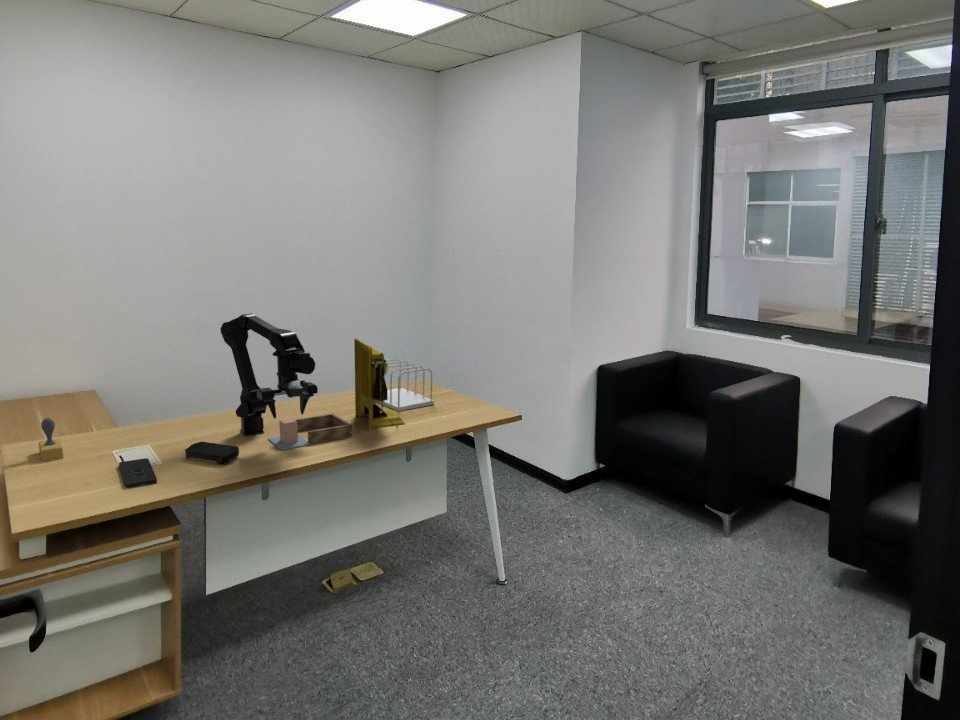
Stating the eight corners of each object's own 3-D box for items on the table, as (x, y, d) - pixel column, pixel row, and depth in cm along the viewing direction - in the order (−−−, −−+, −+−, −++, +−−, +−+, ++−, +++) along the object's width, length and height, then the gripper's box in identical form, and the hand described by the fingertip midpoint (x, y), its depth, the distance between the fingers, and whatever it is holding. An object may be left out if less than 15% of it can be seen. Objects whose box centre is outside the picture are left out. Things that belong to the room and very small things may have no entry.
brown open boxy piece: (309, 443, 230) (308, 432, 229) (291, 431, 243) (291, 420, 242) (352, 436, 239) (351, 424, 238) (333, 424, 252) (332, 413, 251)
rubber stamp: (39, 452, 216) (35, 415, 214) (61, 449, 220) (57, 413, 217) (41, 462, 208) (37, 423, 206) (63, 458, 212) (59, 421, 209)
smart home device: (124, 484, 190) (117, 461, 206) (125, 490, 190) (118, 467, 207) (157, 478, 194) (148, 457, 211) (158, 484, 194) (148, 462, 211)
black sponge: (243, 457, 216) (242, 446, 216) (225, 466, 208) (224, 455, 208) (200, 451, 221) (199, 440, 221) (181, 460, 214) (180, 448, 213)
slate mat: (281, 450, 223) (281, 449, 223) (267, 439, 233) (267, 438, 233) (310, 444, 229) (310, 443, 229) (296, 434, 239) (296, 433, 239)
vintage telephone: (413, 431, 245) (413, 348, 239) (375, 436, 239) (374, 351, 233) (386, 408, 273) (386, 333, 267) (351, 412, 267) (350, 335, 261)
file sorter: (365, 398, 289) (365, 361, 285) (400, 392, 299) (400, 356, 296) (398, 411, 270) (398, 372, 266) (434, 405, 280) (434, 367, 277)
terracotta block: (284, 444, 228) (284, 423, 226) (280, 440, 231) (279, 420, 230) (297, 441, 230) (297, 421, 229) (293, 438, 234) (292, 418, 233)
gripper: (266, 378, 214) (268, 426, 217) (323, 371, 225) (324, 418, 228) (255, 371, 223) (257, 418, 226) (310, 365, 234) (311, 410, 237)
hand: (288, 416), depth 229 cm, fingers open, 9 cm apart
